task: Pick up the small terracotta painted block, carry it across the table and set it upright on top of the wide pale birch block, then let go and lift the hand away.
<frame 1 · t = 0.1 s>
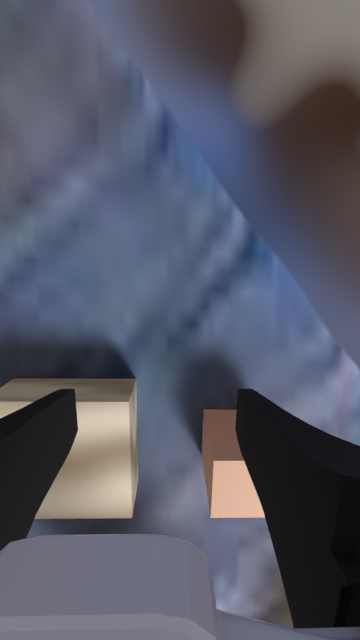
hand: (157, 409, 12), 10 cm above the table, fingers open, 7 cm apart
birch base: (80, 429, 23), on the table
terracotta block: (227, 432, 23), on the table
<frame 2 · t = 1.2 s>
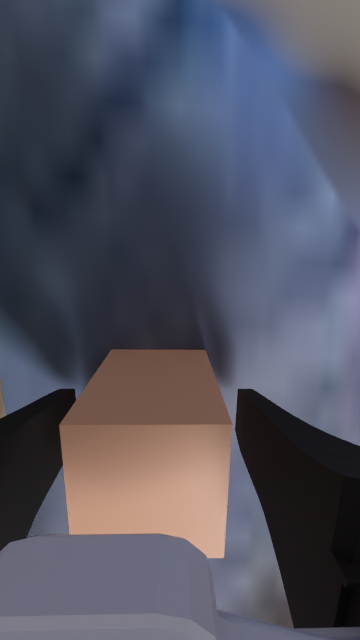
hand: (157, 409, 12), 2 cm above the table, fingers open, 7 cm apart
terracotta block: (158, 392, 13), on the table
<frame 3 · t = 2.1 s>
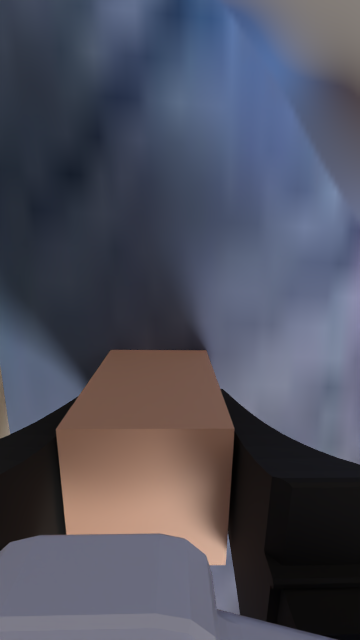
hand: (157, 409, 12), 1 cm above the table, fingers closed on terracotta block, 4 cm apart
terracotta block: (158, 393, 13), on the table, touching gripper
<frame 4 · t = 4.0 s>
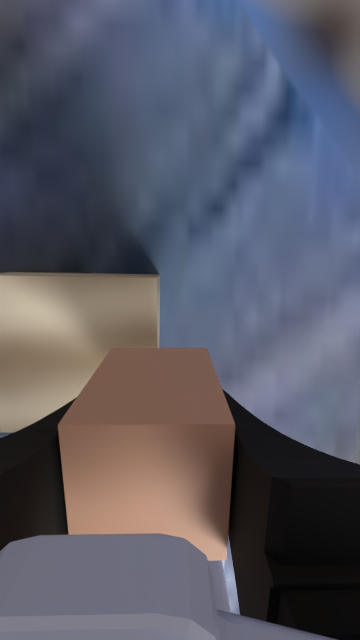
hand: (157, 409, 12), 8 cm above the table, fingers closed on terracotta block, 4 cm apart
birch base: (93, 340, 20), on the table
terracotta block: (159, 391, 13), point 7 cm above the table, touching gripper
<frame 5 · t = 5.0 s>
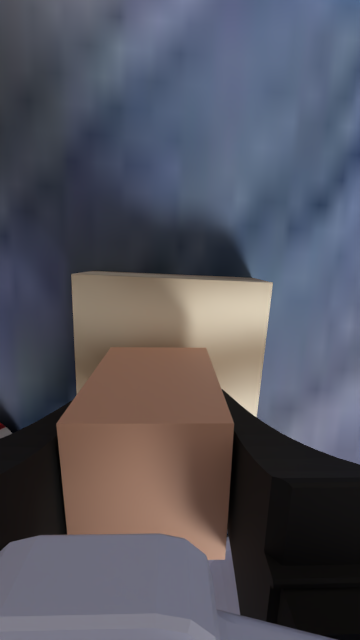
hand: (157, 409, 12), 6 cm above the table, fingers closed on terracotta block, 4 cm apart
birch base: (170, 348, 18), on the table
terracotta block: (158, 390, 13), point 5 cm above the table, touching gripper
when the fingers open (6 cm above the table, at t = 5.7 s): terracotta block drops 1 cm, resting on birch base.
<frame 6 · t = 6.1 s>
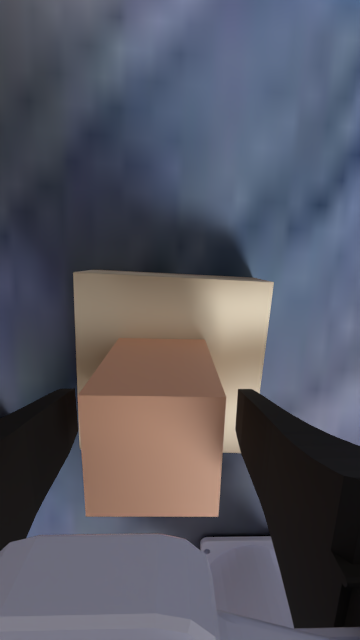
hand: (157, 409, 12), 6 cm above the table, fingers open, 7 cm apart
birch base: (170, 347, 18), on the table, touching terracotta block
terracotta block: (161, 378, 14), point 4 cm above the table, touching birch base
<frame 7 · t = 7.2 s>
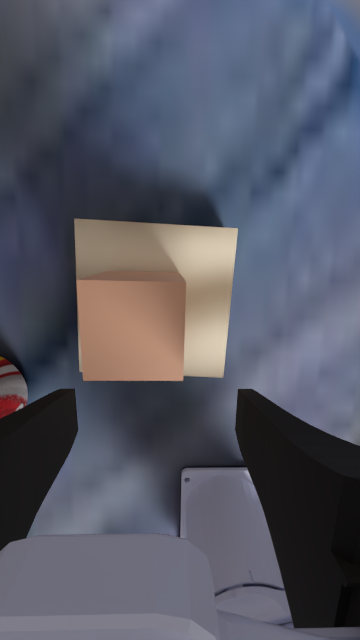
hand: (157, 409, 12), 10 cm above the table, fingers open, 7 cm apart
birch base: (157, 295, 21), on the table
terracotta block: (143, 306, 17), point 4 cm above the table
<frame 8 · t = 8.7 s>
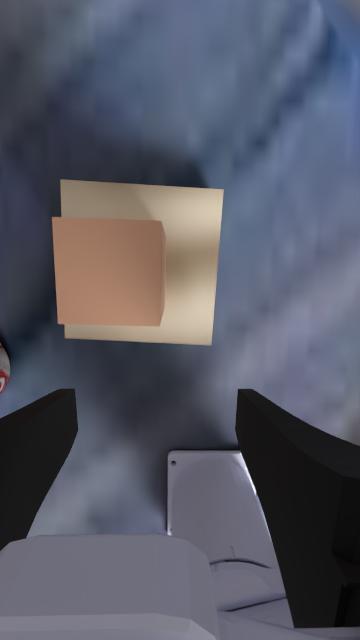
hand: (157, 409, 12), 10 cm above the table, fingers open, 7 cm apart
birch base: (147, 267, 21), on the table, touching terracotta block
terracotta block: (130, 272, 17), point 4 cm above the table, touching birch base
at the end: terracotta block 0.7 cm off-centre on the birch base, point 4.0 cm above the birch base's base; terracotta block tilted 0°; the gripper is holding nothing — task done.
